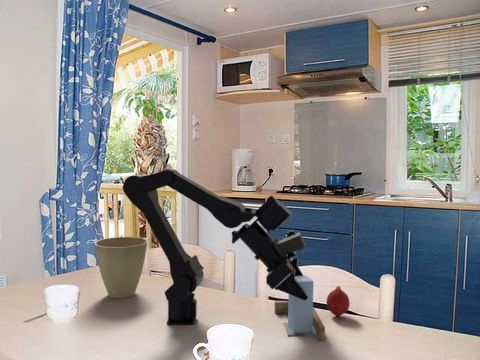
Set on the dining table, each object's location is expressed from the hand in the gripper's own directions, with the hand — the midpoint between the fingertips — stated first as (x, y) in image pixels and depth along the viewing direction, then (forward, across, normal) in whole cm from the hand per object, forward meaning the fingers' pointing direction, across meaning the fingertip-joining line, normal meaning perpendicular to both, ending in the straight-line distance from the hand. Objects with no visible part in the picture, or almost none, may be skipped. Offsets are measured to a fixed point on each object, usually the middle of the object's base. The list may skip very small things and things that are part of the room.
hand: (307, 292), depth 95 cm
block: (+5, 0, +7) cm, 9 cm away
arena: (+4, +2, +8) cm, 10 cm away
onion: (+12, +10, +1) cm, 16 cm away
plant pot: (-32, +14, +45) cm, 57 cm away
